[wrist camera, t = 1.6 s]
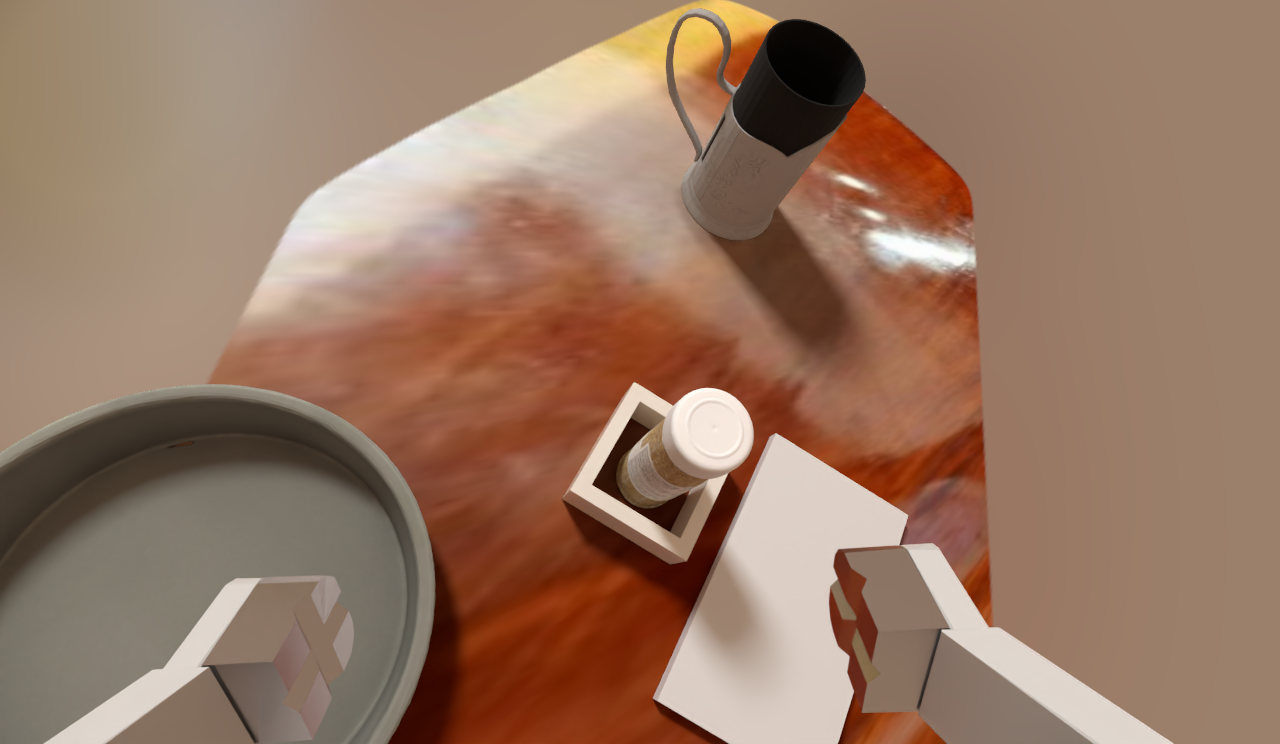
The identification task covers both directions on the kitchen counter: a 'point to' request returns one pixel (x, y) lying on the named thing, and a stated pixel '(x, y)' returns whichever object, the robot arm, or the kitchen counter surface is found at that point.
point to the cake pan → (200, 549)
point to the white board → (776, 607)
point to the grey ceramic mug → (767, 123)
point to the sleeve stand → (623, 518)
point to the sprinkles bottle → (686, 448)
